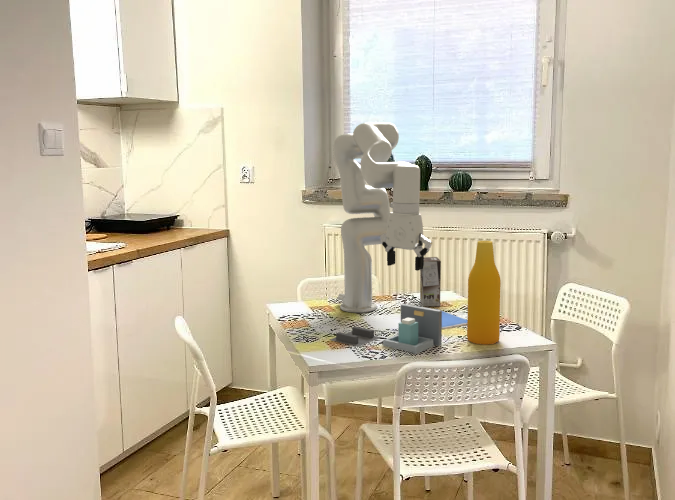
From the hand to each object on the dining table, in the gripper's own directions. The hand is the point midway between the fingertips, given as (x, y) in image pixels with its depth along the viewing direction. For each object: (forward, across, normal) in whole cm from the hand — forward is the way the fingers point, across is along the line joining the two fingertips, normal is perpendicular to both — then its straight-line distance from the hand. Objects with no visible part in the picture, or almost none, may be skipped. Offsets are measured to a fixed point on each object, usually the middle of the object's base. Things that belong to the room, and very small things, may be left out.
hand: (404, 267), depth 197 cm
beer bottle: (+21, +19, +12) cm, 31 cm away
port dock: (+21, +5, -4) cm, 22 cm away
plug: (+21, +6, -6) cm, 23 cm away
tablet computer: (+23, -3, +24) cm, 33 cm away
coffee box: (+23, -17, +41) cm, 50 cm away
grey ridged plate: (+22, -10, -10) cm, 26 cm away
